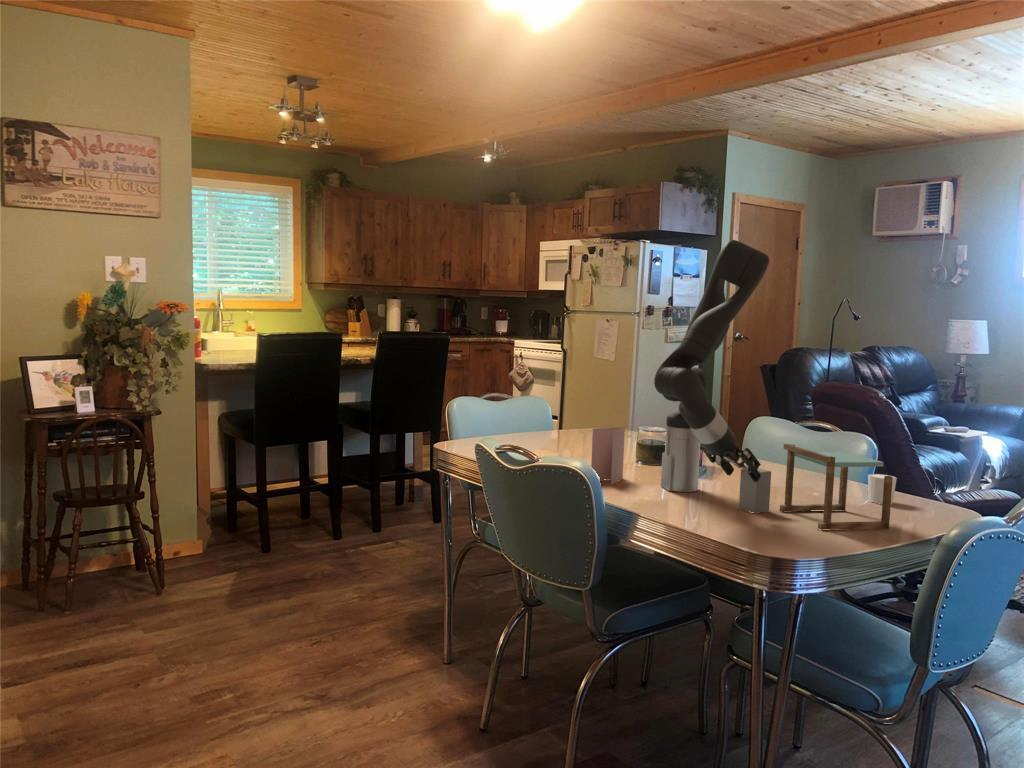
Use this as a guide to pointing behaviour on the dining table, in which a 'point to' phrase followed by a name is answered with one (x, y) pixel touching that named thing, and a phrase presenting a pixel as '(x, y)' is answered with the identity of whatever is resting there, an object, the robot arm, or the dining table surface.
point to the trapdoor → (845, 460)
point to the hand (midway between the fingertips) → (744, 475)
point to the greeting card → (608, 453)
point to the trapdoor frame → (829, 493)
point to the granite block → (755, 492)
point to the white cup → (878, 487)
